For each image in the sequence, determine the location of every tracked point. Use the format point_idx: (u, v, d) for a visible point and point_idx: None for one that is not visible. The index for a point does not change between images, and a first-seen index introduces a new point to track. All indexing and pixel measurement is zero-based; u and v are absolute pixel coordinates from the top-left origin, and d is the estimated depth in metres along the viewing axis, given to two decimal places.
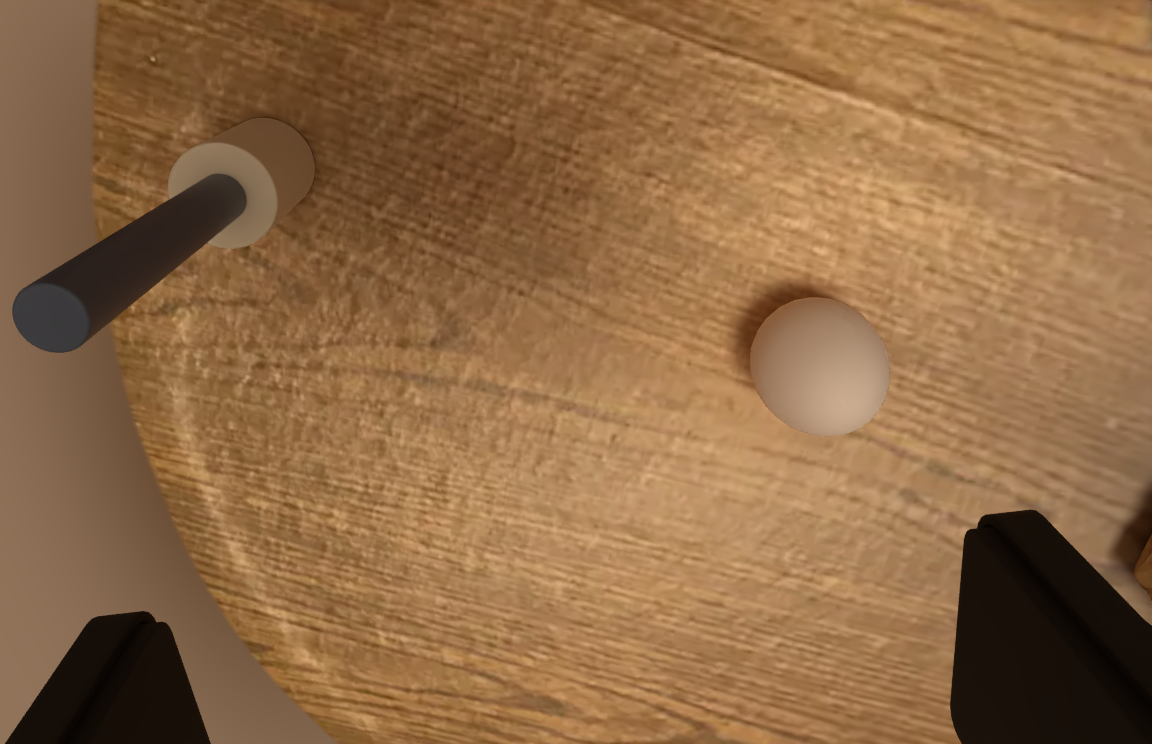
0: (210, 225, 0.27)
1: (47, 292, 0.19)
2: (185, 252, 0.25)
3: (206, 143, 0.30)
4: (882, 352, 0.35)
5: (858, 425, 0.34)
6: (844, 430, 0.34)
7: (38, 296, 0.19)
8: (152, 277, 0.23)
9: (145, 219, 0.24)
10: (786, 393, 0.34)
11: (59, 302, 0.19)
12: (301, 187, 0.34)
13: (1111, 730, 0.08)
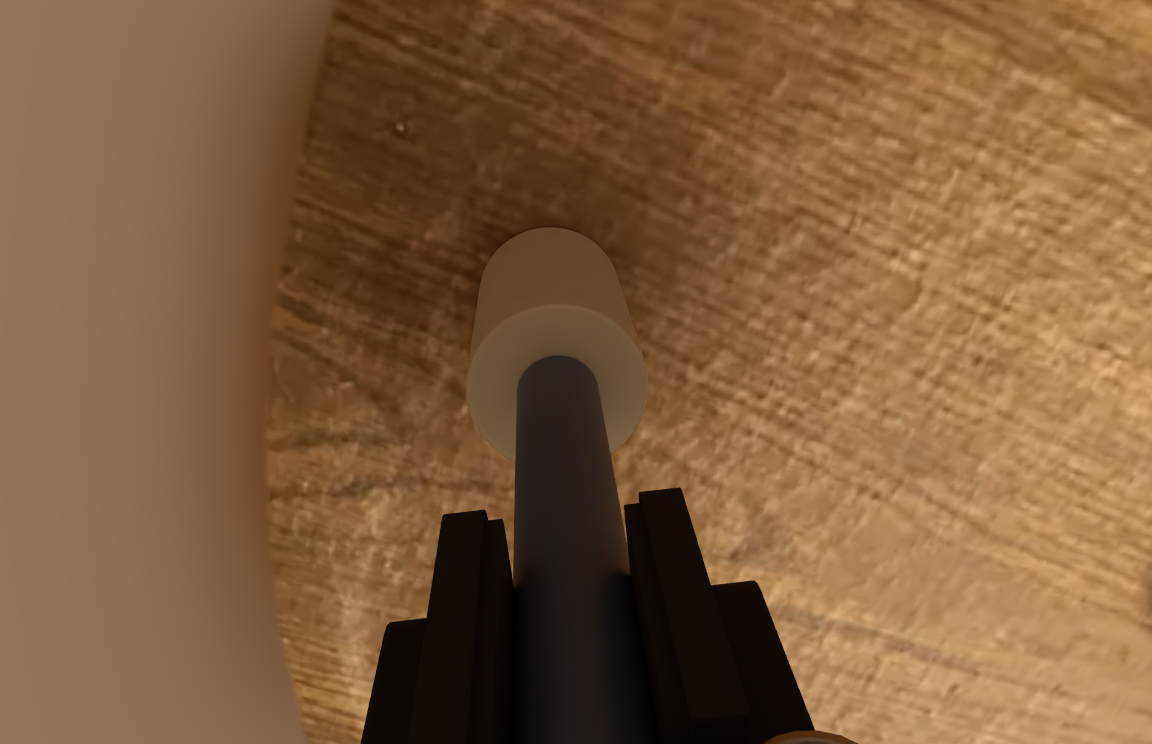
0: None
1: None
2: None
3: (549, 304, 0.17)
4: None
5: None
6: None
7: None
8: None
9: (582, 544, 0.12)
10: None
11: None
12: None
13: (653, 673, 0.09)
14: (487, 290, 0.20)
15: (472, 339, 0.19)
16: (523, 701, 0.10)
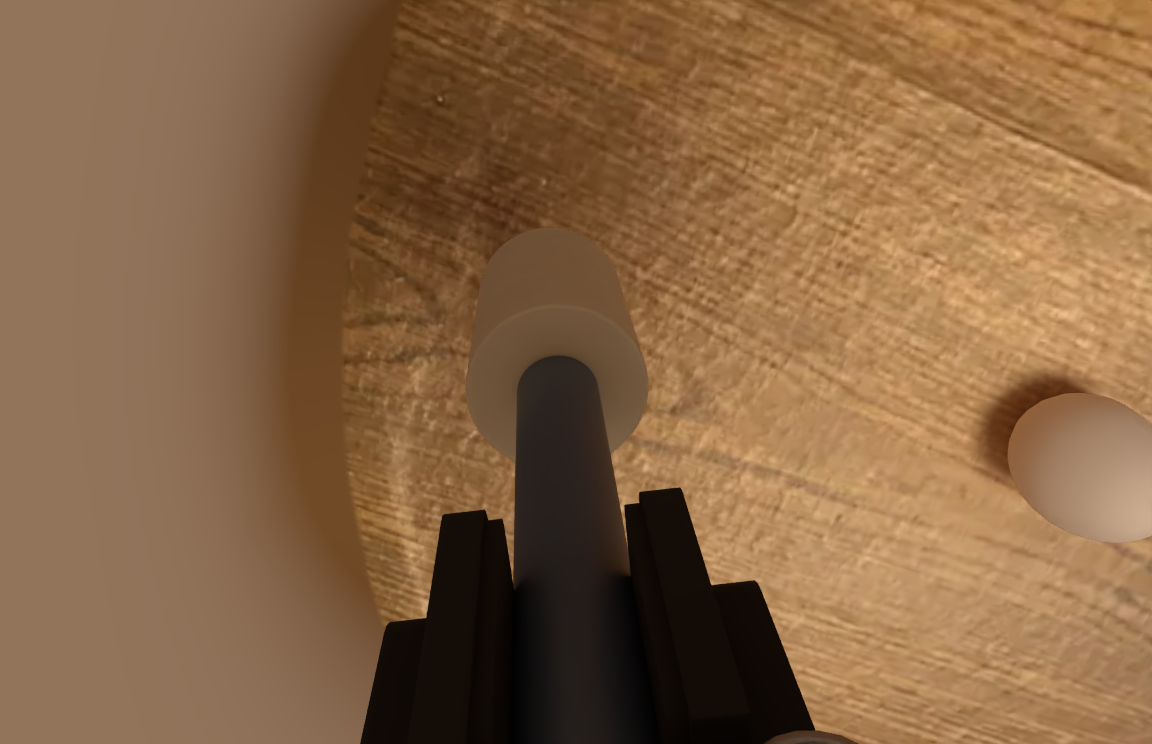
0: None
1: None
2: None
3: (549, 304, 0.17)
4: None
5: (1150, 535, 0.33)
6: (1134, 539, 0.33)
7: None
8: None
9: (582, 543, 0.12)
10: (1075, 496, 0.33)
11: None
12: None
13: (654, 673, 0.09)
14: (487, 290, 0.20)
15: (472, 339, 0.19)
16: (523, 700, 0.10)
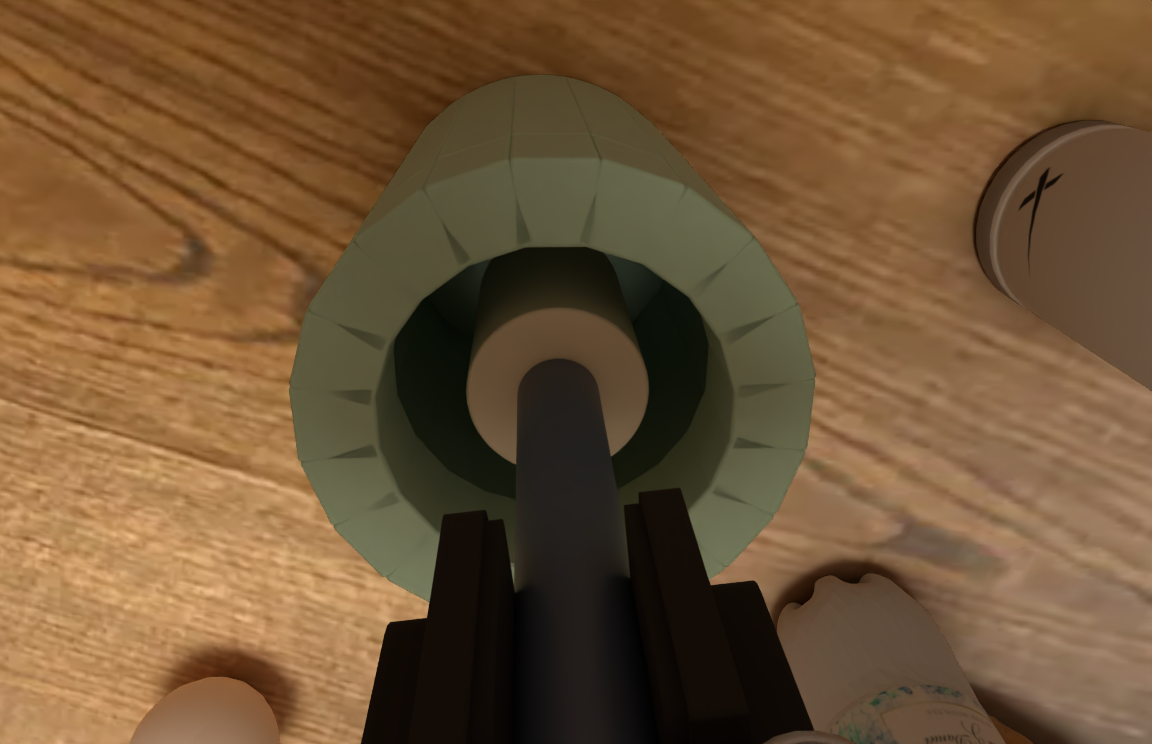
0: None
1: None
2: None
3: (549, 308, 0.17)
4: None
5: None
6: None
7: None
8: None
9: (583, 548, 0.12)
10: None
11: None
12: None
13: (653, 673, 0.09)
14: (487, 293, 0.20)
15: (472, 342, 0.19)
16: (524, 706, 0.10)
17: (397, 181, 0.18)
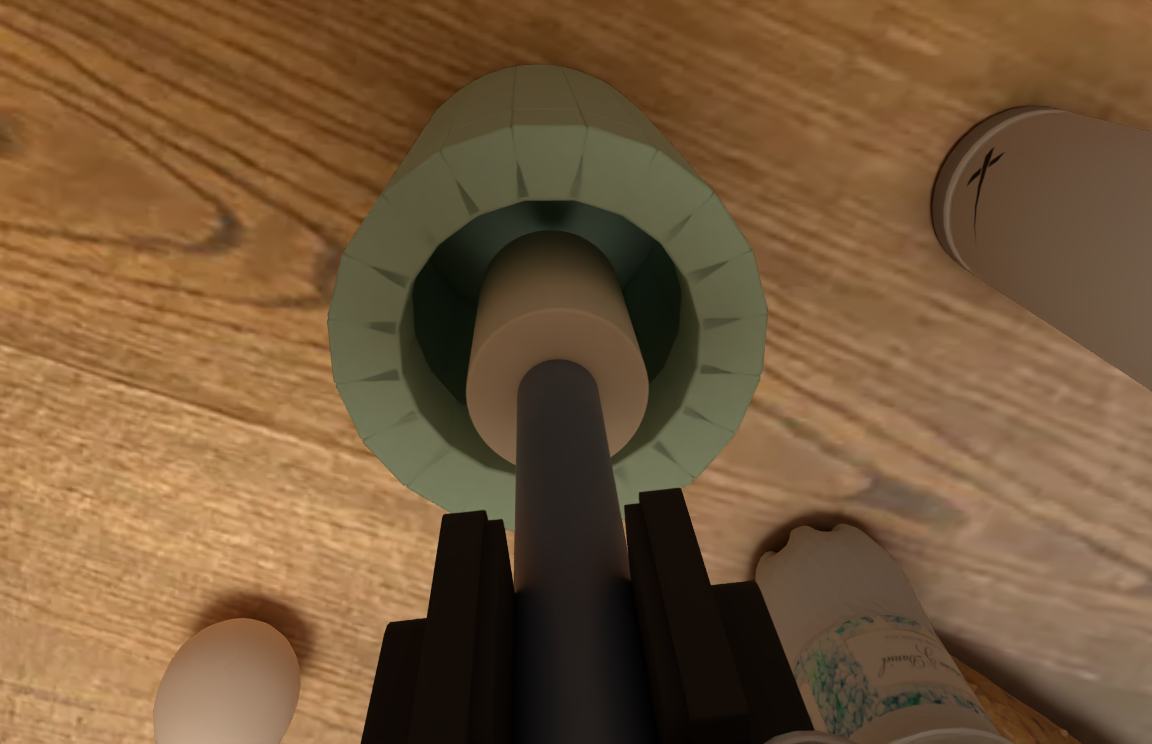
0: None
1: None
2: None
3: (549, 308, 0.17)
4: (260, 706, 0.34)
5: None
6: None
7: None
8: None
9: (582, 548, 0.12)
10: (156, 743, 0.34)
11: None
12: None
13: (653, 673, 0.09)
14: (487, 293, 0.20)
15: (472, 342, 0.19)
16: (523, 706, 0.10)
17: (415, 150, 0.21)
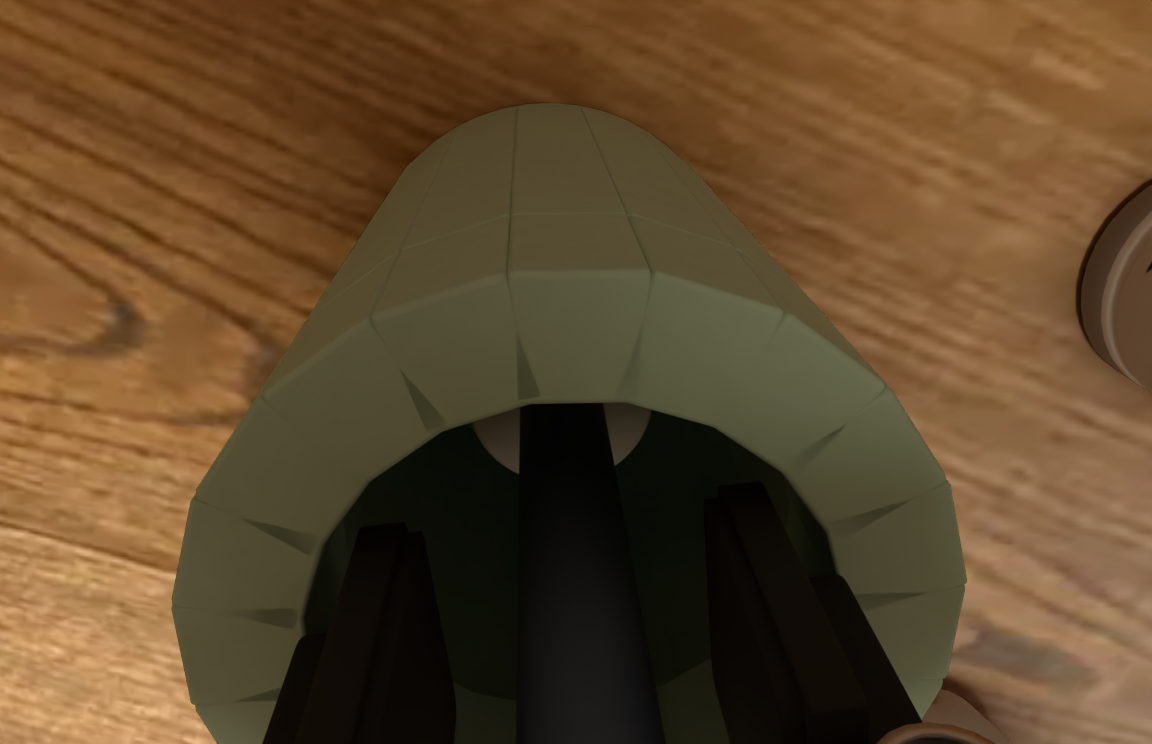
0: None
1: None
2: None
3: None
4: None
5: None
6: None
7: None
8: None
9: (588, 564, 0.11)
10: None
11: None
12: None
13: (756, 666, 0.09)
14: None
15: None
16: (529, 729, 0.09)
17: (347, 273, 0.13)
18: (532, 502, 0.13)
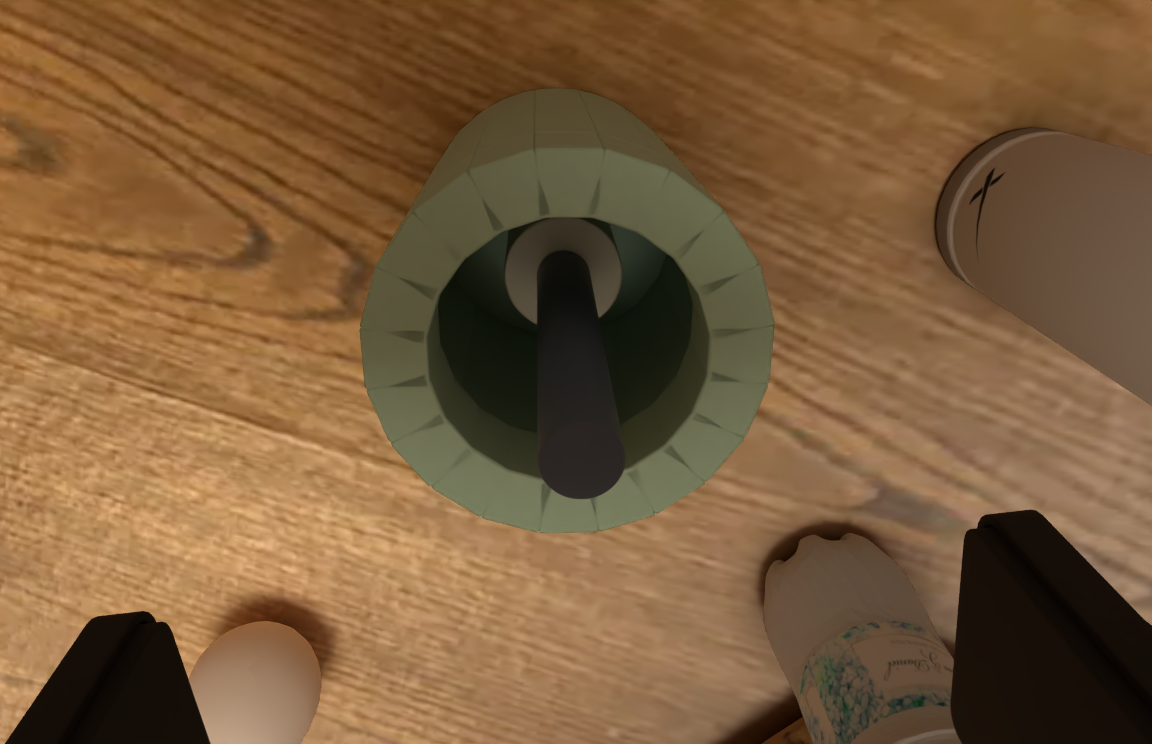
0: None
1: (588, 432, 0.16)
2: None
3: None
4: (283, 706, 0.35)
5: None
6: None
7: (576, 436, 0.16)
8: None
9: (575, 319, 0.21)
10: None
11: (598, 444, 0.16)
12: None
13: (1111, 730, 0.08)
14: None
15: (507, 245, 0.29)
16: (544, 372, 0.19)
17: (442, 171, 0.23)
18: (545, 304, 0.23)
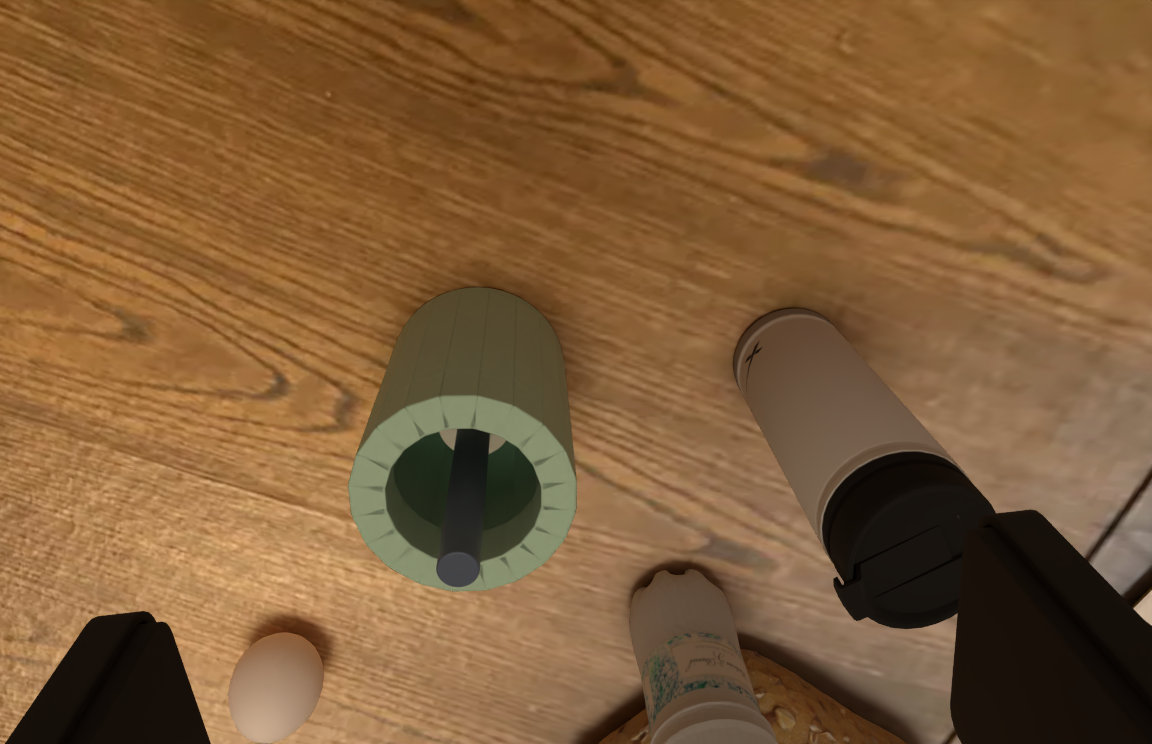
0: (487, 464, 0.41)
1: (460, 556, 0.33)
2: None
3: None
4: (299, 690, 0.52)
5: (275, 740, 0.52)
6: (266, 743, 0.52)
7: (454, 558, 0.33)
8: None
9: (468, 475, 0.38)
10: (231, 715, 0.52)
11: (465, 562, 0.33)
12: None
13: (1111, 730, 0.08)
14: None
15: None
16: (446, 513, 0.36)
17: (395, 385, 0.39)
18: (455, 459, 0.40)
